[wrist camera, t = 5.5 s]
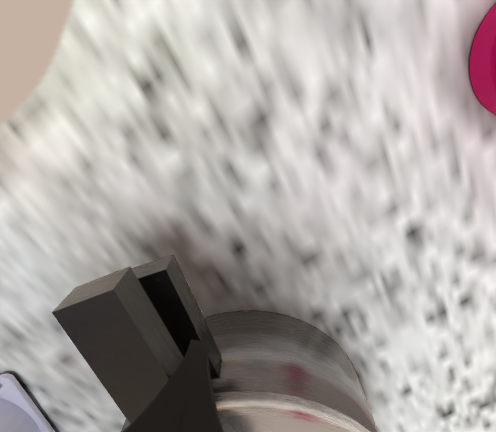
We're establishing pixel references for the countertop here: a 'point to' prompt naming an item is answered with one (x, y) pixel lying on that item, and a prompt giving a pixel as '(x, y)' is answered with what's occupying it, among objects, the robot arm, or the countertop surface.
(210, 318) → the cooker pot
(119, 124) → the countertop surface
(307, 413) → the cooker lid
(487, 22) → the pepper mill
